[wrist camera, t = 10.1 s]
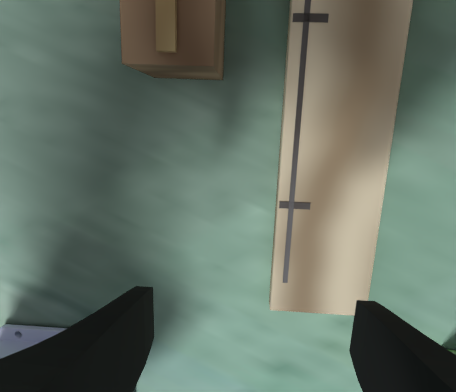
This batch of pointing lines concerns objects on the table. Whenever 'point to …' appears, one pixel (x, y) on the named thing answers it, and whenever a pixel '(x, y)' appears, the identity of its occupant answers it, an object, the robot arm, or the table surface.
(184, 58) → the brown small block
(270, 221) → the table surface
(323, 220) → the birch plank
